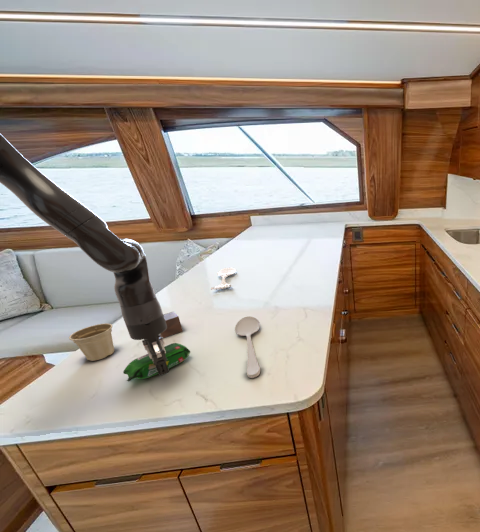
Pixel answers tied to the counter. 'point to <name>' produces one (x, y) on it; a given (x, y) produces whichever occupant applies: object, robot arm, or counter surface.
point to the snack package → (146, 367)
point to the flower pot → (94, 341)
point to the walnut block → (171, 324)
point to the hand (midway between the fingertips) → (163, 372)
